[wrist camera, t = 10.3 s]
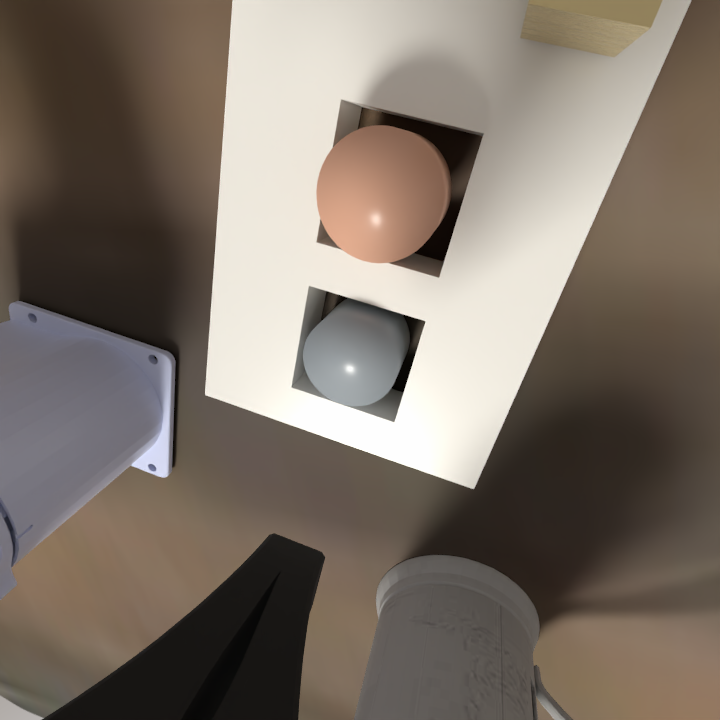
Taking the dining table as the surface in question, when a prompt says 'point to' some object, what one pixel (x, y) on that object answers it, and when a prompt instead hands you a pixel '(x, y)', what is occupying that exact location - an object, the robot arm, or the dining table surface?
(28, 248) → the dining table surface
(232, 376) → the white flat block
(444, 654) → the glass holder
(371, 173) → the terracotta button
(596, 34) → the brass slider
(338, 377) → the slate button
